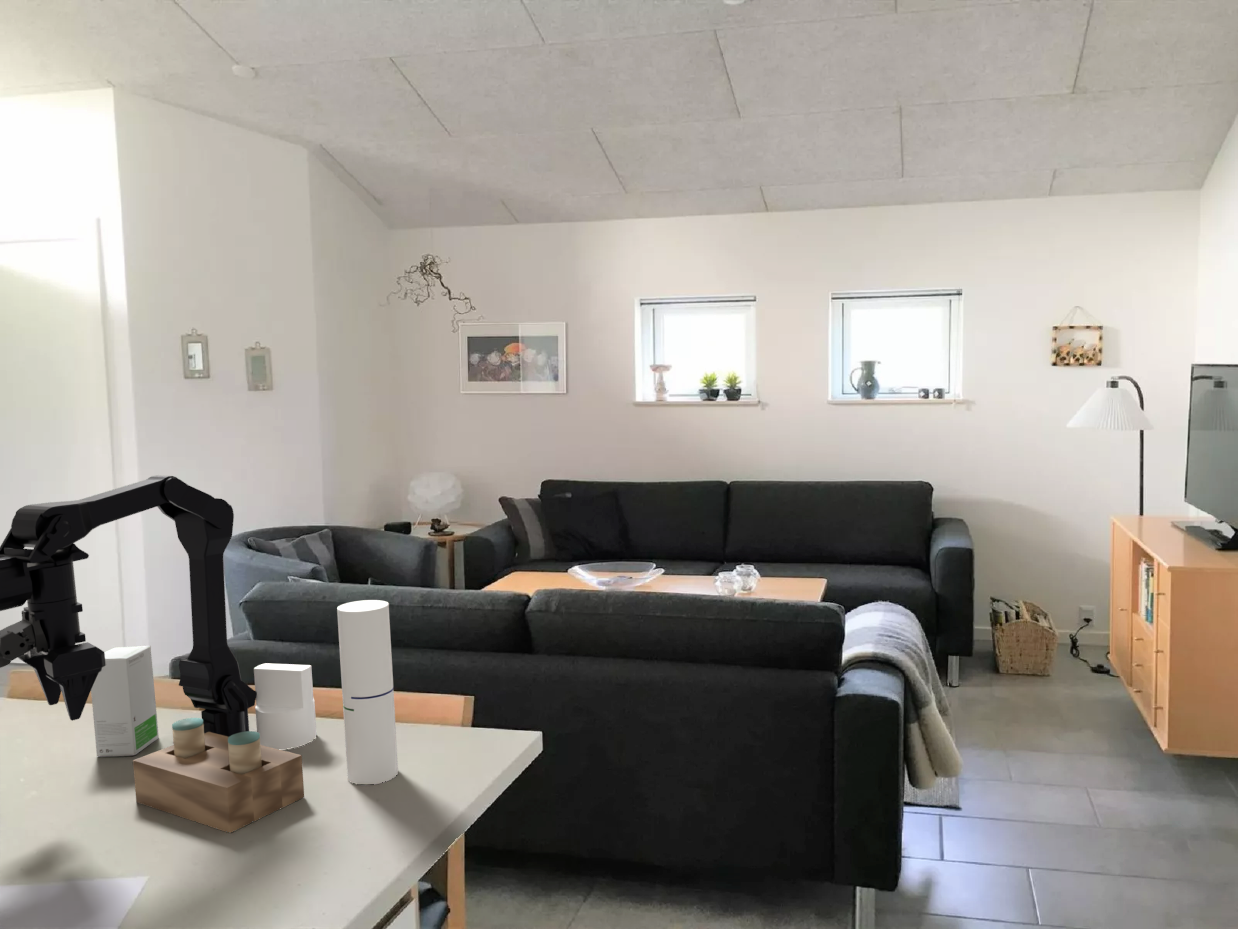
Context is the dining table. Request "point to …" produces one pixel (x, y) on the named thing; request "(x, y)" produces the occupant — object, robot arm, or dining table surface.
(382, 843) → the dining table surface
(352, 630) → the cylindrical container
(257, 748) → the peg
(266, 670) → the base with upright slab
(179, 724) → the peg
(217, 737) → the socket block
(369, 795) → the dining table surface
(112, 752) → the skincare box
